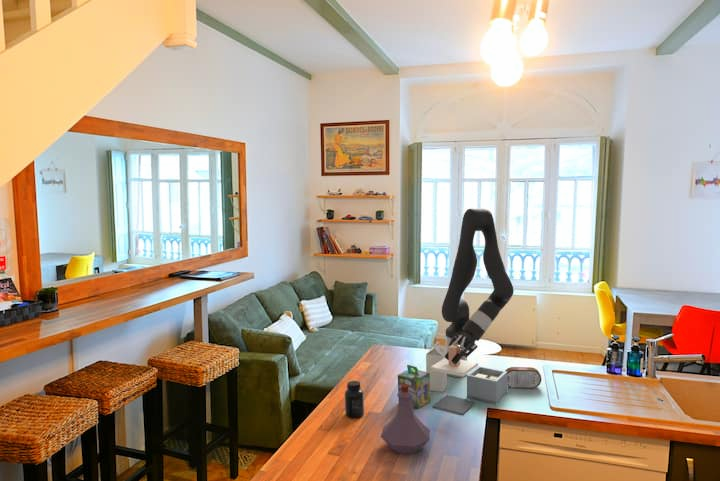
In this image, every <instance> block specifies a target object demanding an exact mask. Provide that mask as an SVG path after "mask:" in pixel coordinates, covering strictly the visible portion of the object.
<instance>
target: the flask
mask: <svg viewBox="0 0 720 481" xmlns="http://www.w3.org/2000/svg"><path fill="white" fill-rule="evenodd" d="M408 388H409V385H407V384H403V385H401V391H400V392H398V391H397V398H399V399H398V408H397V411H396V412H397V413H396V415H394V416H393V417H392V418H391V420H389V422H387V424H385V425H384V426H383V427H382V429H381V430H382V432H381V434H380V438H381V439H382V440H383V441H384V442H385V444H387V445H388V447H390V449H392V450H393V451H395V452H396V453H398V454H405V455H411V454H414V453H416V452H418V451H420V450H422V449H423V447H424V446H425V445H426V444H427V443H428V442H429V441H430V438H431V437H430V436H431V430H430V428H429V427H427V426H426V425H425V424H424V423H423V422H422V421H421V420H420V419H419V418H418V417H417V416H416V414H415V412H414V408H412V405H411V398H412V395H413V393H411V392H410V391H408ZM399 400H400V401H399Z"/></svg>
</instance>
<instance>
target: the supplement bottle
mask: <svg viewBox="0 0 720 481" xmlns="http://www.w3.org/2000/svg"><path fill="white" fill-rule="evenodd" d="M361 387H362V386H361V382H360V381H358V380H351V381H348V382H347V383H346V388H347V389H345V391H344V405H345V406H344V407H345V410H344V411H345V415H346V417H347V416H348V417H347V418H349V417H350V418H349V419H359V417H360V418H362V417H363V416H364V414H365V406H364V405H365V403H364V391H363V390H362V389H361Z"/></svg>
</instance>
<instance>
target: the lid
mask: <svg viewBox="0 0 720 481" xmlns="http://www.w3.org/2000/svg"><path fill="white" fill-rule="evenodd" d="M459 349H460V346H456V345H451V346H449V347H448V353H449V360H447V359H446V358H444V359H443V360H441V361H439V362H438V363H436V364H435V365H433V366H431V370H433V371H438V372H443V373H448V374H453V375H458V376H463V377H465V375H466V374H469V373H470V372H471V371H473V370H474V369H475V368H477V367H478V366H479V363H478V362H477V361H471V360H467V361H465V360H459V361H458V363H457V364H454V363H453V362H452V361H451V360H452V359H453V357H454V356H455V355H456V353H458V351H459ZM466 376H467V375H466Z"/></svg>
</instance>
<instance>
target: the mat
mask: <svg viewBox="0 0 720 481" xmlns="http://www.w3.org/2000/svg"><path fill="white" fill-rule="evenodd" d="M476 403H477V402H476V400H472V399H468V398H462V397H457V396H455V395H451V394H446V395H445V396H443V397H442V398H441V399H439V400H438V401H437V402H435V404H433V405H432V408H434V409H437V410H442V411H447V412H450V413H453V414H457V415H461V416H464V415H465V414H466V413H467V412H468V411H469V410H470V409H472V407H473V406H474V405H475V404H476Z"/></svg>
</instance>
